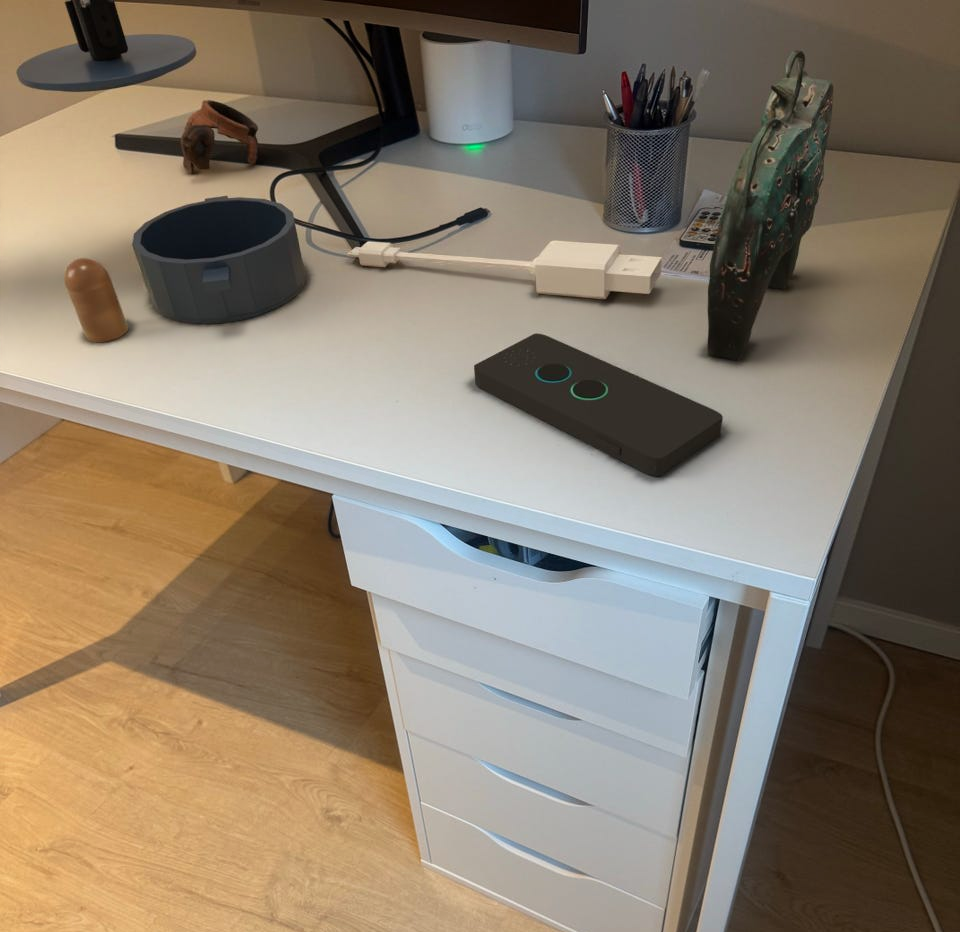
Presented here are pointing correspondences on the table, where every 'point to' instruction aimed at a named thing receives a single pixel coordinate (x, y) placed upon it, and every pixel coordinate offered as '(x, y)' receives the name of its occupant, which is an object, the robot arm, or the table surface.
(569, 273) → the charging cable
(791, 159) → the dark green sculpted piece
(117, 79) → the lid
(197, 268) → the pot
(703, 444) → the smart home device
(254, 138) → the orange-brown curved ring piece
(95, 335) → the brown domed cylinder
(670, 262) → the table surface
